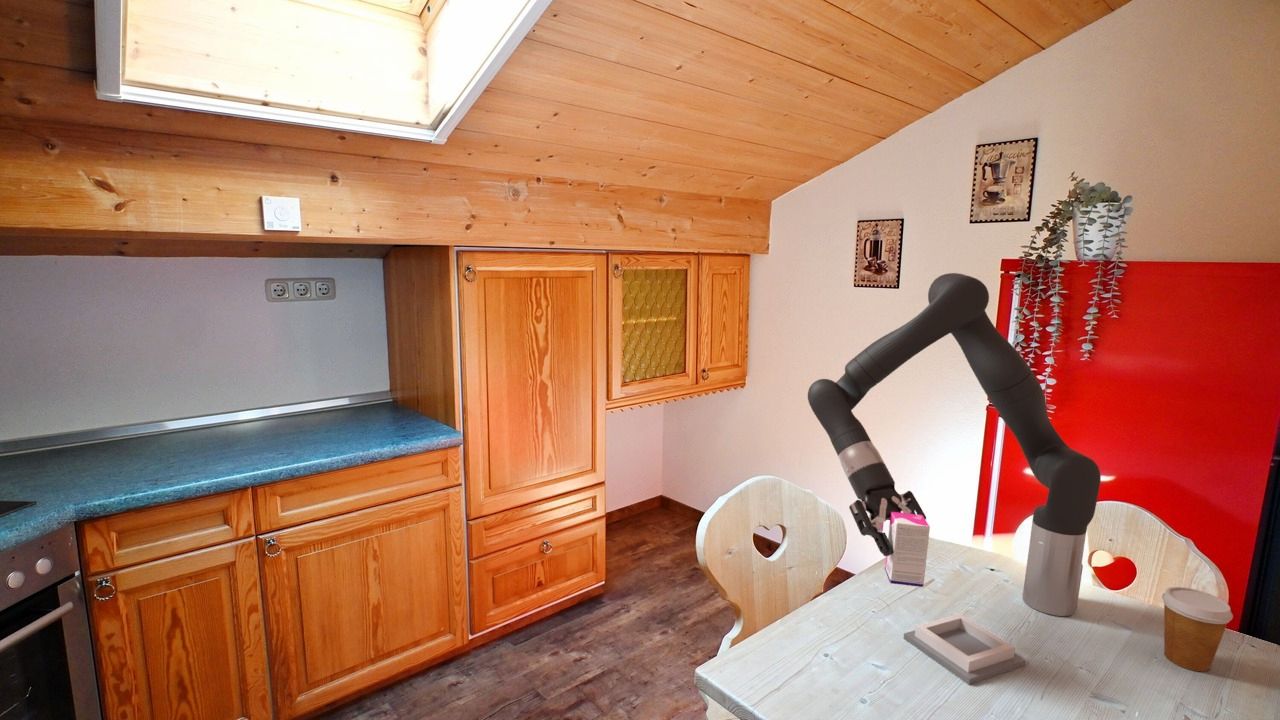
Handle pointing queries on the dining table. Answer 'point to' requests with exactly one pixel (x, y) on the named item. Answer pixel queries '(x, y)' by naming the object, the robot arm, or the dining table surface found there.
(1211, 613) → the disposable coffee cup
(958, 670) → the socket
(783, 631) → the dining table surface
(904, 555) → the supplement box
